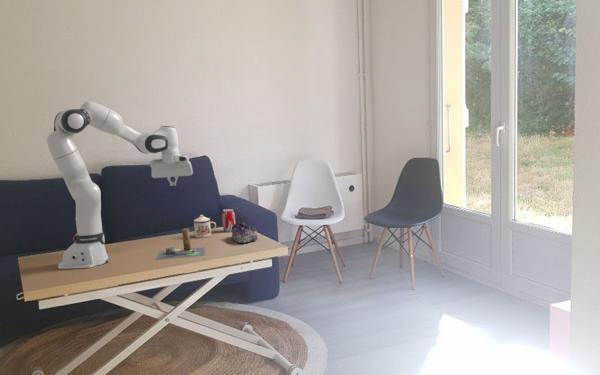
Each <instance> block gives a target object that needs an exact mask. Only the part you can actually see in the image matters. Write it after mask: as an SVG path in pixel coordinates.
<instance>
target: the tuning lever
mask: <svg viewBox="0 0 600 375" xmlns="http://www.w3.org/2000/svg"><path fill="white" fill-rule="evenodd" d="M181 232H182V242H183V243H182V244H183V249H184V250H178V249H176V247H173V246H172V247H166V248H165V251H166V254H173V253H175V252H191V253H195V252H196V250H191V248H192V247H191V234H190V228H183V229H181Z"/></svg>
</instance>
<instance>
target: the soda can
mask: <svg viewBox="0 0 600 375" xmlns="http://www.w3.org/2000/svg"><path fill="white" fill-rule="evenodd" d="M221 220H222V230H223V231H224V232H226V233H232V226H233V225H234V224H236V214H235V211H234V208H228V209H227V208H226V209H223V210H222V213H221Z"/></svg>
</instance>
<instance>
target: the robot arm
mask: <svg viewBox="0 0 600 375" xmlns="http://www.w3.org/2000/svg"><path fill="white" fill-rule="evenodd" d="M53 125H54V126H53V131H52V132H51V133H50V134H49V135H48V136H47V137H46V143H47V146H48V150H49V153H50V155H51V157H52V159H53V161H54V162H55V164H56V166H57V168H58V170H59V172H60V173H61V176H62V178H63V180H64V183H65V185H66V188H67V190H68V192H69V193H70V196H71V198H72V199H73V200H74V202H75V224H76V225H75V226H76V233H75V234H74V236H73V237H72V241H73V243H72V244H71V245H70V246H68V248H67V249H66V250H65V251H64V252H63V255H62V260H61V262H59V263H58V264H57V269H58V270H65V269H67V270H69V269H70V270H71V269H90V268H93V267H96V266H100V265H103V264H104V265H105V264H106V263H108V262H109V261H108V259H109V255H108V253H107V250H106V246H105V242H106V241H105V233H104V231H103V225H102V224H103V222H102V214H101V212H102V200H101V199H102V198H101V196H102V195H101V188H100V187H99V185H98V184H96V183H95V182H94V181H92V178H91V176H90V174H89V172H88V168H87V166H86V163H85V162H84V159H83V158H82V155H81V153H80V152H79V150H78V147H77V145H76V144H75V142H74V135H75V134H79V133H81V132H83V131H84V129H85V128H87V126H91V127H93V128H95V129H97V130H99V131H101V132H104V133H106V134H109V135H112V136H113V135H114V136H117V137H120V138H121V139H123V140H125V141H127V142H128V143H131V144H132V145H133V146H134V147H135V148H136V149H137V150H138V151H139V152H140V153H142V154H158V153H160V152H161V158H158V159H155V158H154V159H153V160H150V162H149V164H150V166H149V167H150V169H151V178H153V179H159V178H161V179H162V178H167V181H168V183H169V187H172V186H173V187H174V186H175V187H176V186H177V182H178V179H179V177H187V176H188V177H189V176H192V175H193V174H194V171H193V166H192V163H191V161H190V158H189V156H188V155H185V154H180V149H179V143H180V142H179V135H178V132H177V129H176V128H175V127H174V126H167V125H162V126H160V127H159V128H158V129H156V130H155V131H153V132H151V133H145V132H139V131H137V130H135V129H133V128H131V126H128V125H126V124H125V123H124V122H123V117H122V116H121V115H120V114H119V113H118V112H116V111H115V110H113V109H111V108H109V107H107V106H105V105H103V104H100V103H98V102H95V101H92V100H87V101H85V102H83V104H81V106H80V108H78V109H77V108H73V109H64V110H62V111H59V112H58V113H57V114H56V116H55V117H54V123H53ZM173 177H174V179H175V180H174V181H171V178H173Z"/></svg>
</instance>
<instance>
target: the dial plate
mask: <svg viewBox="0 0 600 375" xmlns="http://www.w3.org/2000/svg"><path fill="white" fill-rule="evenodd" d="M177 250H184V248H180V249H179V248H178V249H177ZM191 250H196V252H195V253H191V252H175V253H173V254H166V250H159V252H158V253H157V256H156V258H155V261H163V260H172V259H182V258H183V259H185V258H193V257H194V258H195V257H204V256H205V253H206V252H205V251H206V247H205V246H202V247H201V246H200V247H191Z"/></svg>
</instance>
